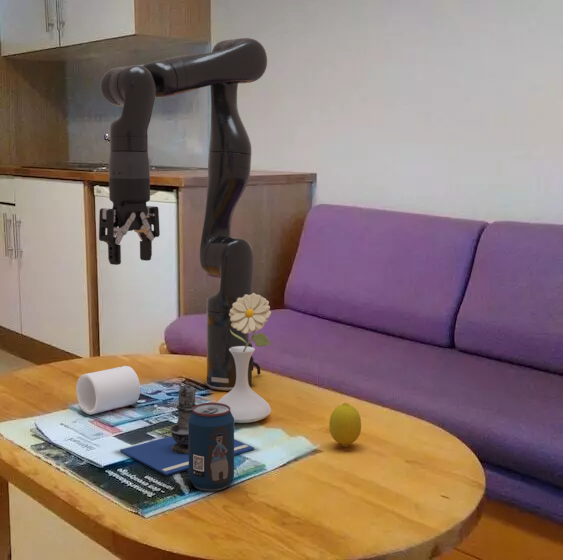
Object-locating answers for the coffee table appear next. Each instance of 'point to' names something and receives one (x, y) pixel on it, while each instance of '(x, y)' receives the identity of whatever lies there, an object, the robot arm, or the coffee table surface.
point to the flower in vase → (247, 359)
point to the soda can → (211, 446)
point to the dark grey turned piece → (183, 419)
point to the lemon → (345, 424)
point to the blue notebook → (168, 455)
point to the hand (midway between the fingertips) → (130, 262)
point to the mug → (107, 389)
